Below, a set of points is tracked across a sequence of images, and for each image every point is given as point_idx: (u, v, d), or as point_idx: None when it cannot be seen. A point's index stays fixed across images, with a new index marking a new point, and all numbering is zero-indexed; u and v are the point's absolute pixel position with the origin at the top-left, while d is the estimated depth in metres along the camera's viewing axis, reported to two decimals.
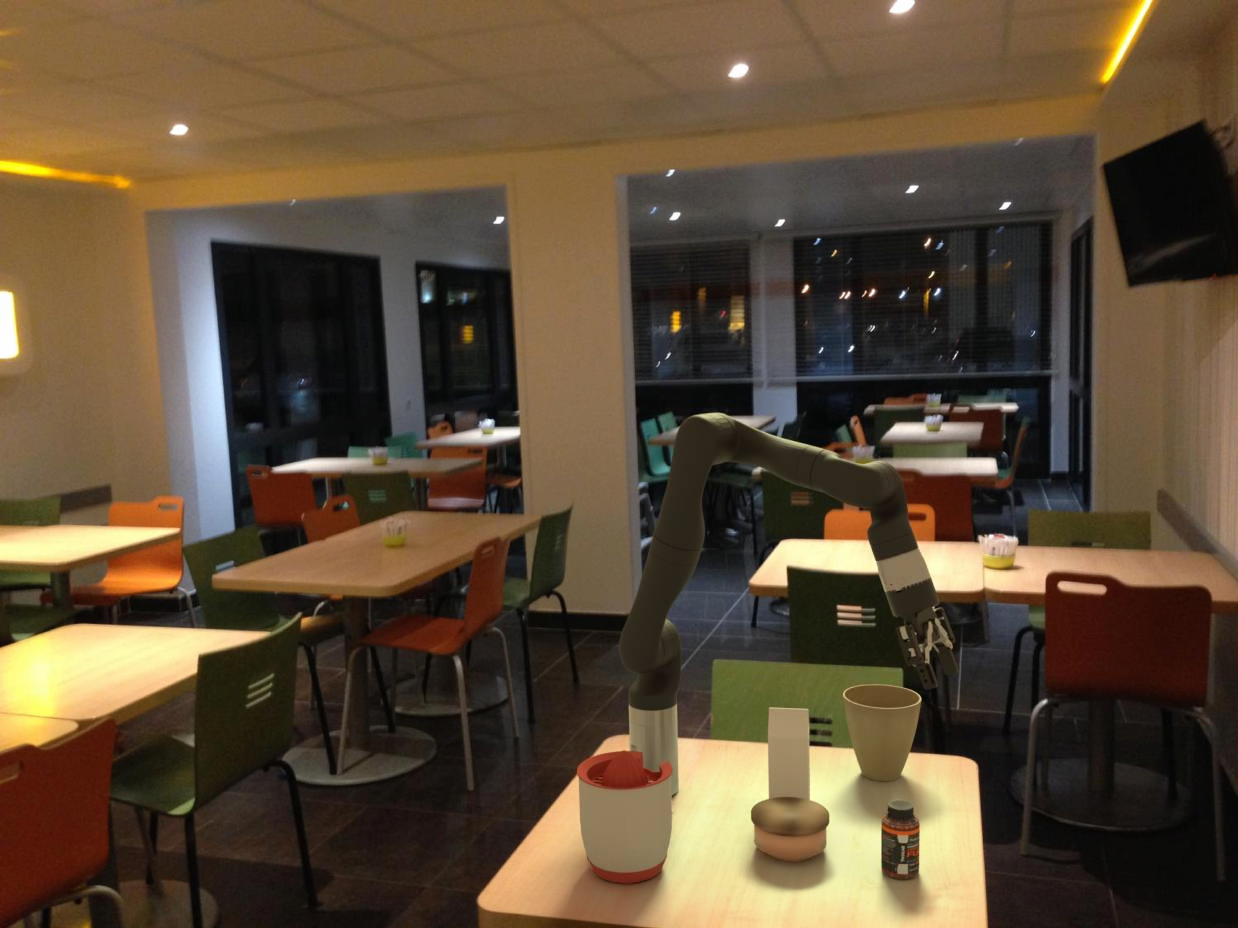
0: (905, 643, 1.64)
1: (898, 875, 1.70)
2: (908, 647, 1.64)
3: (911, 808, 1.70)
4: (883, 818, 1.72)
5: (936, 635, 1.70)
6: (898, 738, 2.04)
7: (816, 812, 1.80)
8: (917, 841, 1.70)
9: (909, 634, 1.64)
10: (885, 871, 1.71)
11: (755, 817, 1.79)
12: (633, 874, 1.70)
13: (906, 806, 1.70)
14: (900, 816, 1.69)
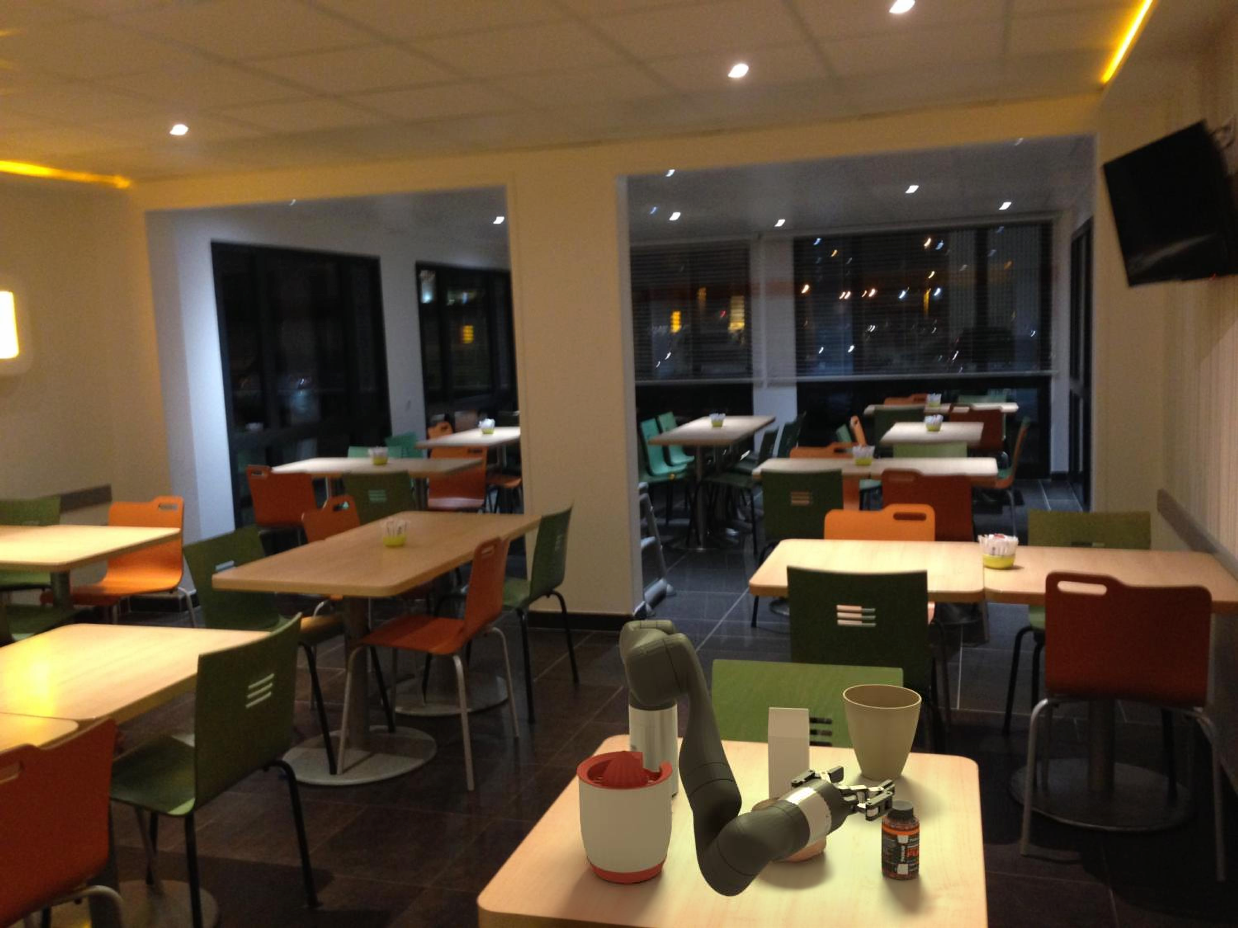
0: None
1: (898, 875, 1.70)
2: None
3: (911, 808, 1.70)
4: (883, 818, 1.72)
5: None
6: (898, 738, 2.04)
7: None
8: (917, 841, 1.70)
9: None
10: (885, 871, 1.71)
11: None
12: (633, 874, 1.70)
13: (906, 806, 1.70)
14: (900, 816, 1.69)
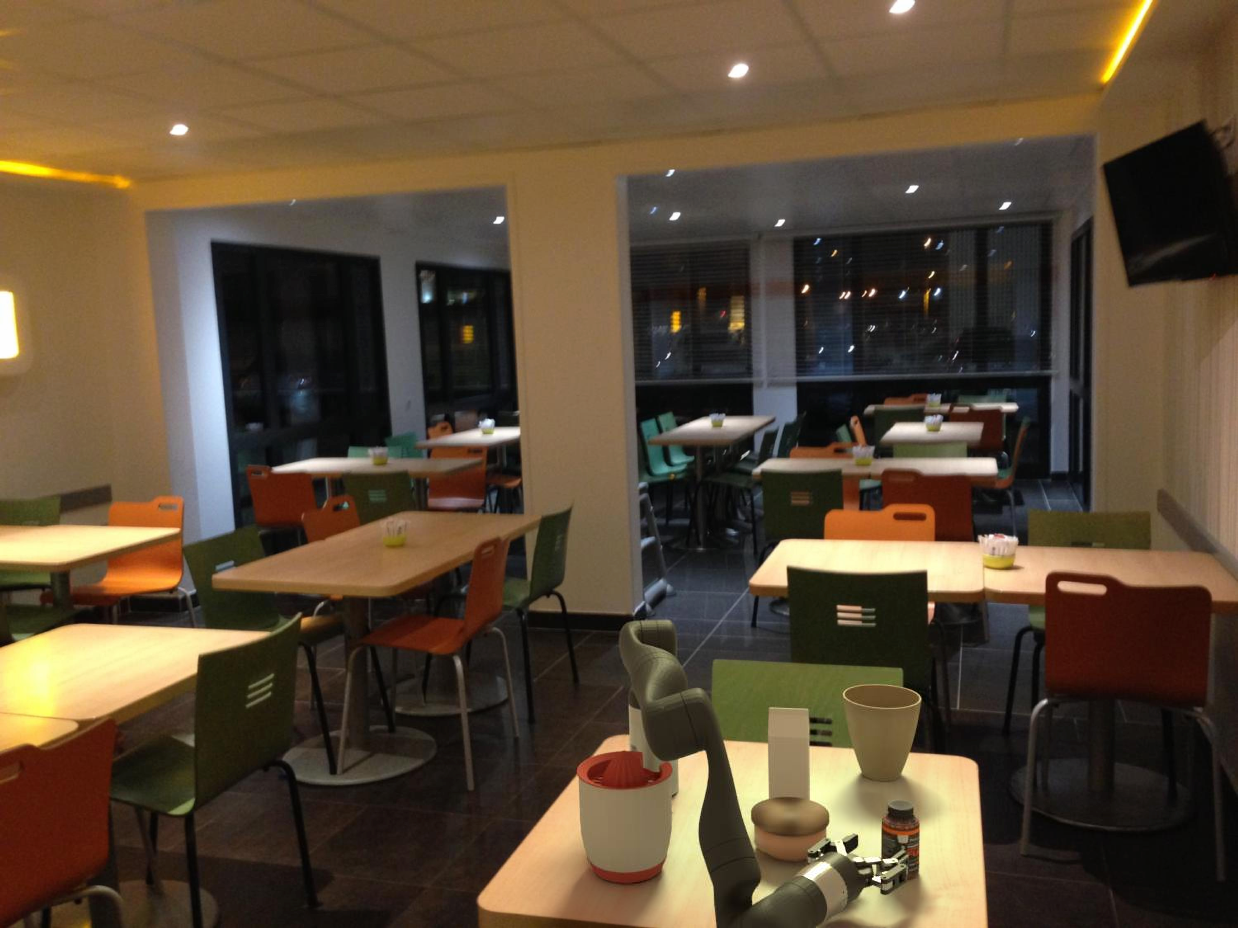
0: None
1: None
2: None
3: (911, 808, 1.70)
4: (883, 818, 1.72)
5: None
6: (898, 738, 2.04)
7: (816, 812, 1.80)
8: (917, 841, 1.70)
9: None
10: (885, 871, 1.71)
11: (755, 817, 1.79)
12: (633, 874, 1.70)
13: (906, 806, 1.70)
14: (900, 816, 1.69)
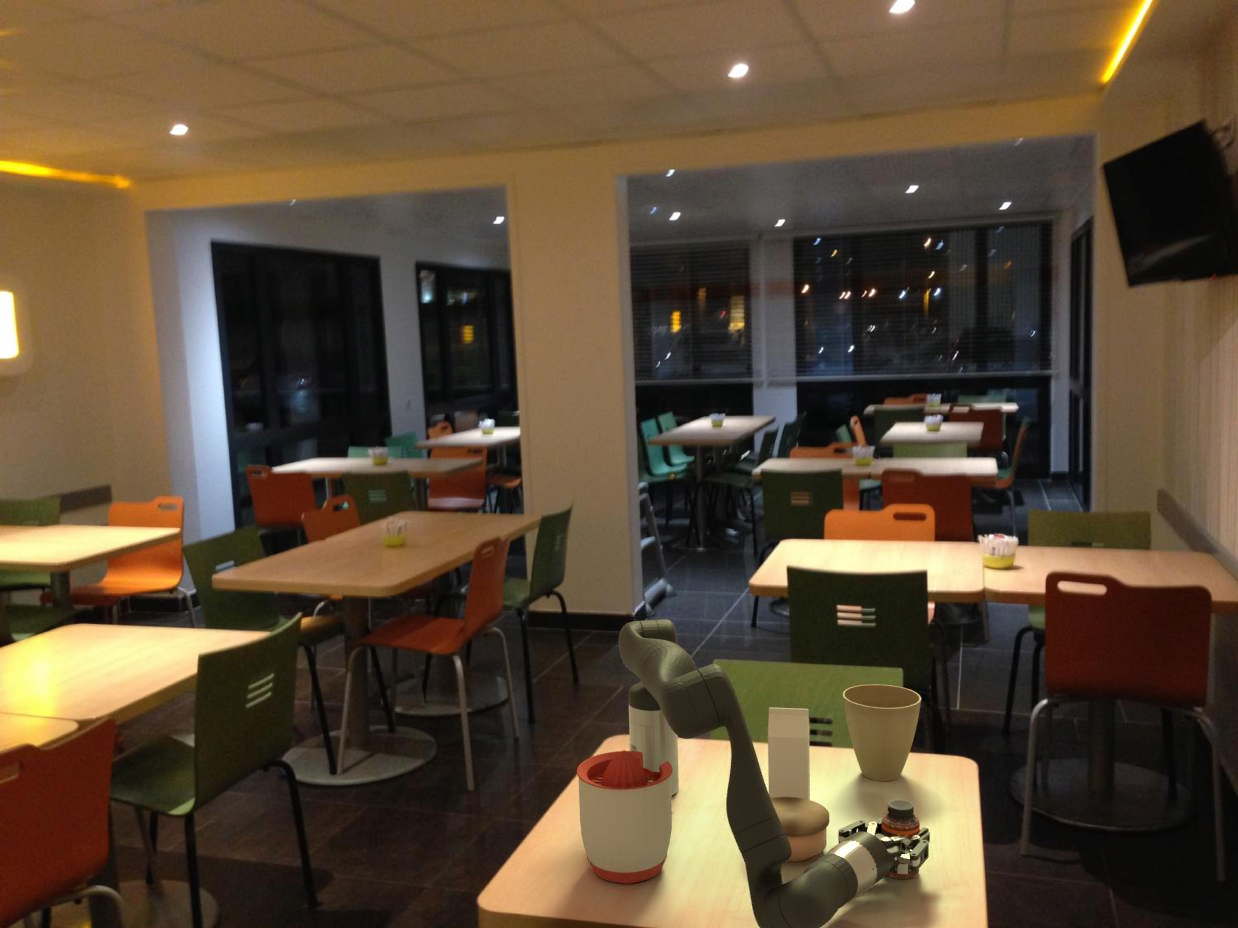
0: None
1: (898, 875, 1.70)
2: None
3: (911, 808, 1.70)
4: (883, 818, 1.72)
5: None
6: (898, 738, 2.04)
7: (816, 812, 1.80)
8: None
9: None
10: None
11: None
12: (633, 874, 1.70)
13: (906, 806, 1.70)
14: (900, 816, 1.69)
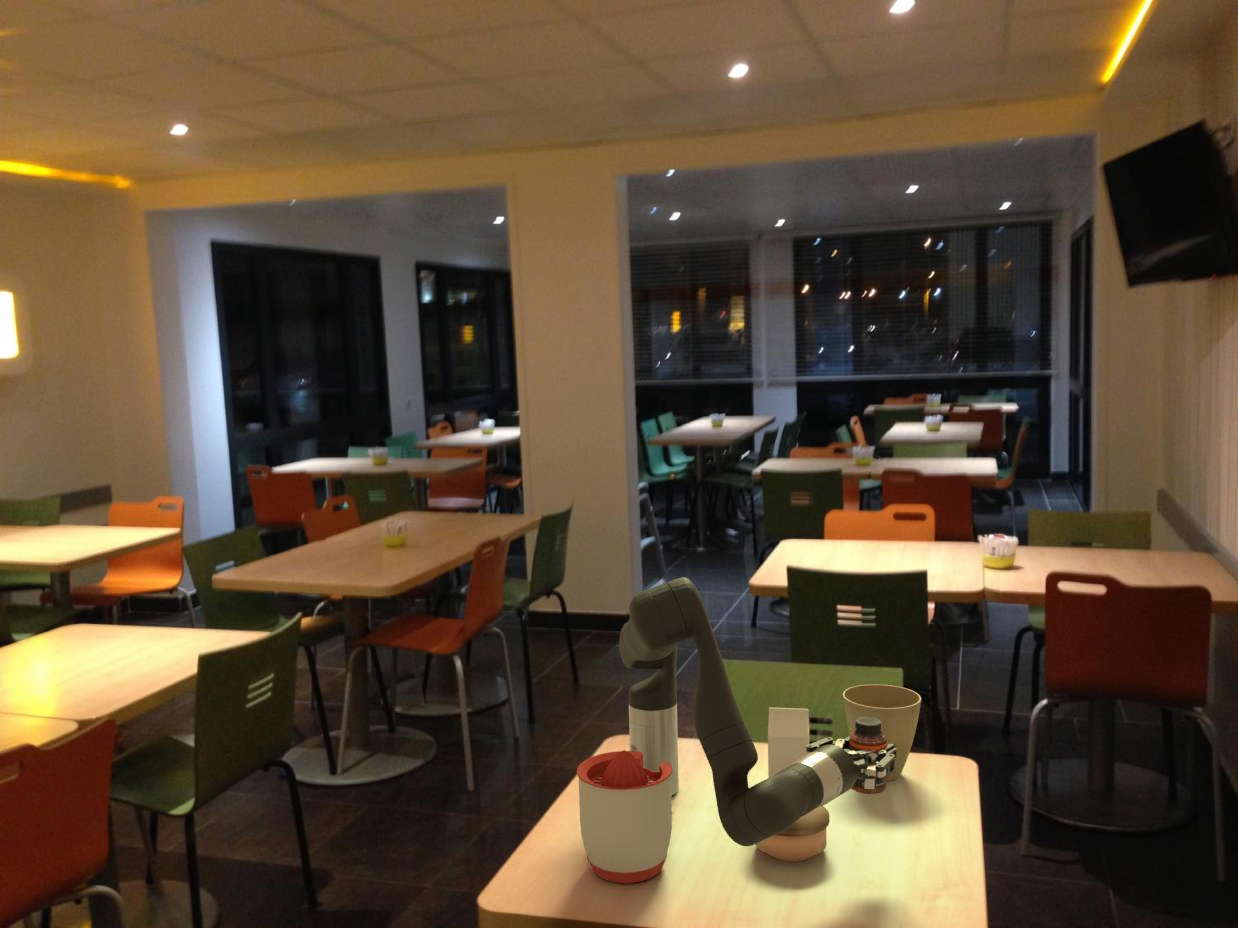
0: None
1: (865, 790, 1.71)
2: None
3: (878, 724, 1.72)
4: (851, 734, 1.73)
5: None
6: (898, 738, 2.04)
7: (816, 812, 1.80)
8: None
9: None
10: (852, 787, 1.73)
11: None
12: (633, 874, 1.70)
13: (873, 722, 1.72)
14: (867, 731, 1.71)
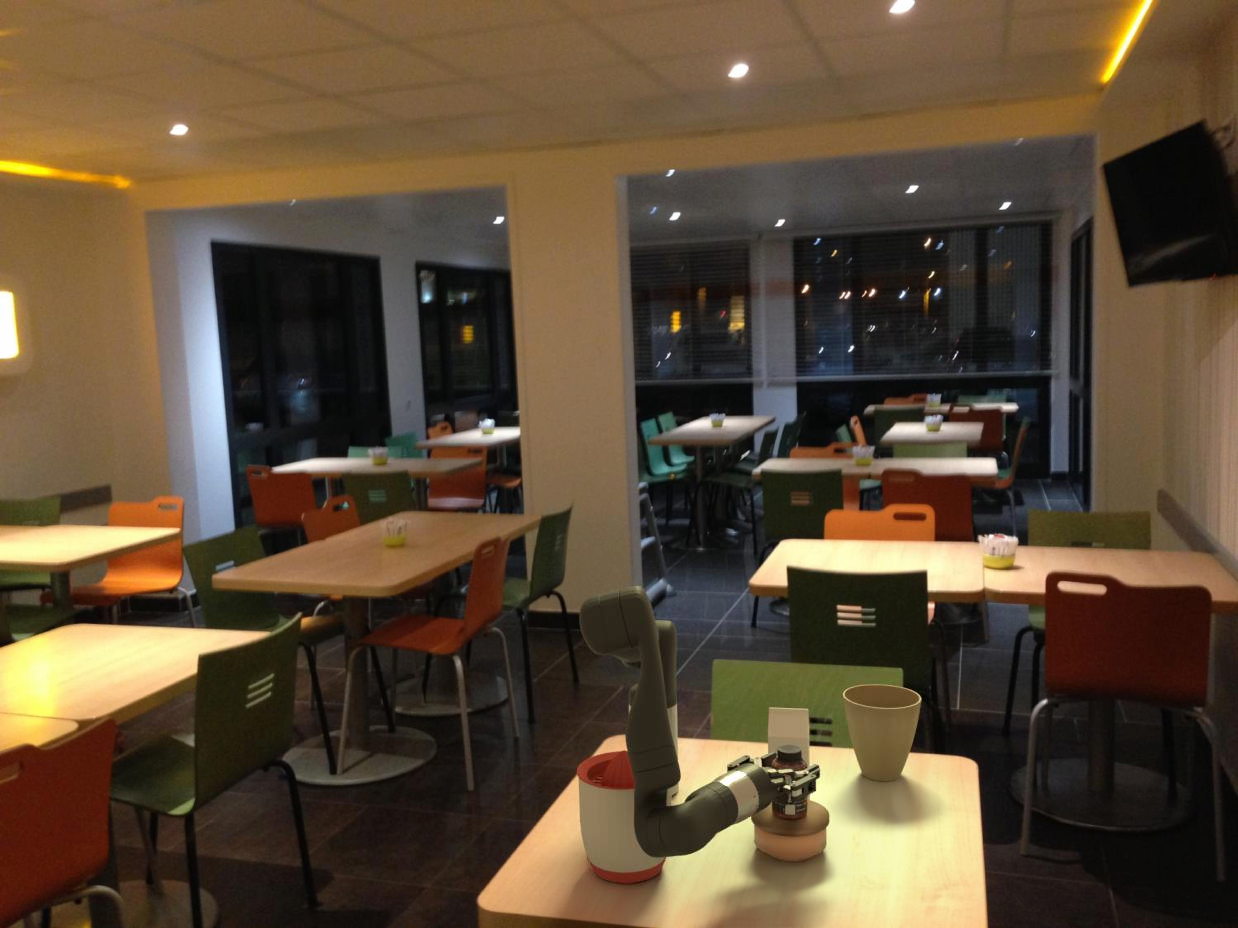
0: None
1: (786, 815, 1.77)
2: None
3: (799, 751, 1.78)
4: (773, 761, 1.79)
5: None
6: (898, 738, 2.04)
7: (816, 812, 1.80)
8: None
9: None
10: (774, 812, 1.79)
11: (755, 817, 1.79)
12: (633, 874, 1.70)
13: (794, 750, 1.78)
14: (787, 759, 1.77)
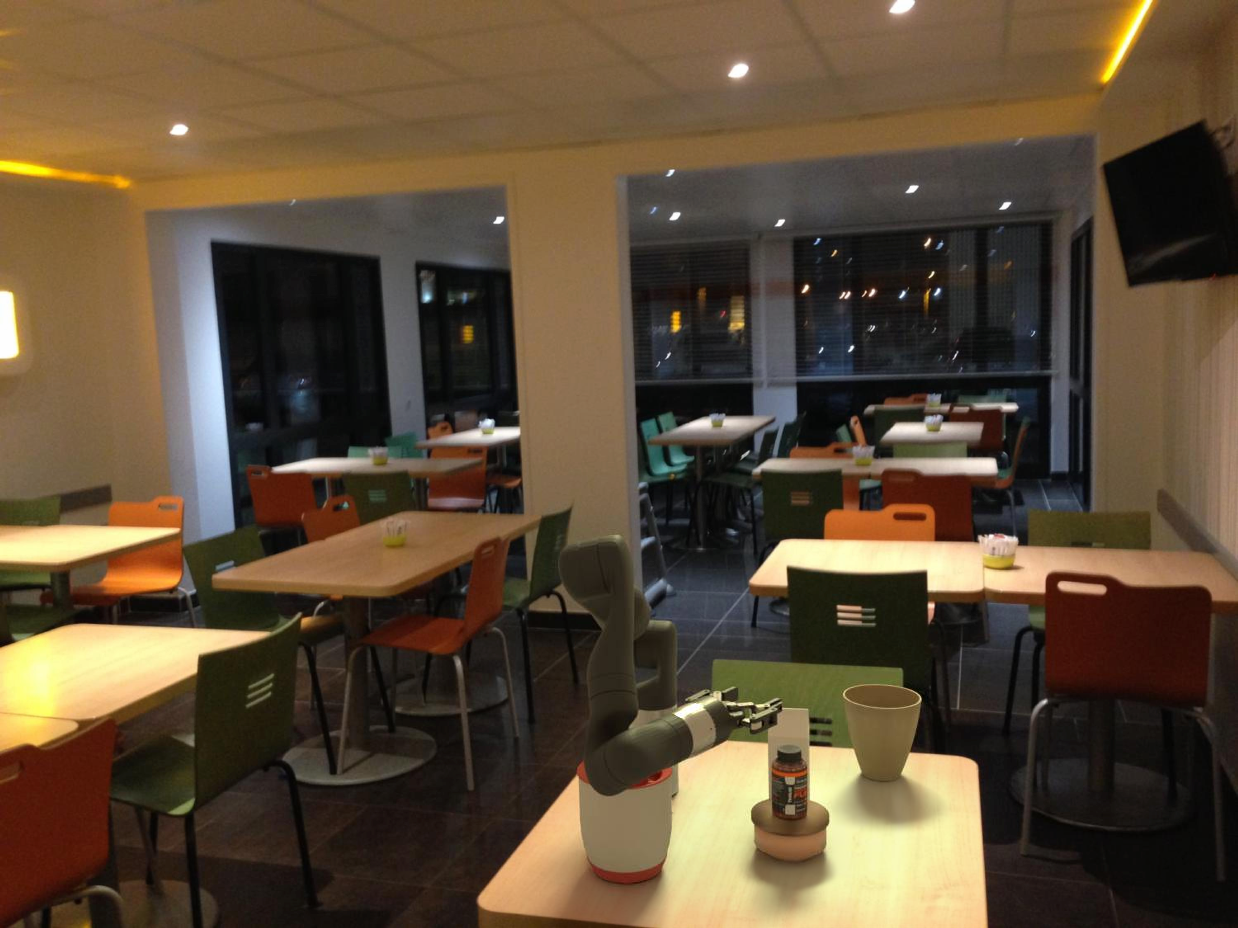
0: None
1: (786, 815, 1.77)
2: None
3: (798, 751, 1.78)
4: (773, 762, 1.79)
5: None
6: (898, 738, 2.04)
7: (816, 812, 1.80)
8: (804, 783, 1.77)
9: None
10: (774, 812, 1.79)
11: (755, 817, 1.79)
12: (633, 874, 1.70)
13: (793, 750, 1.78)
14: (787, 759, 1.77)
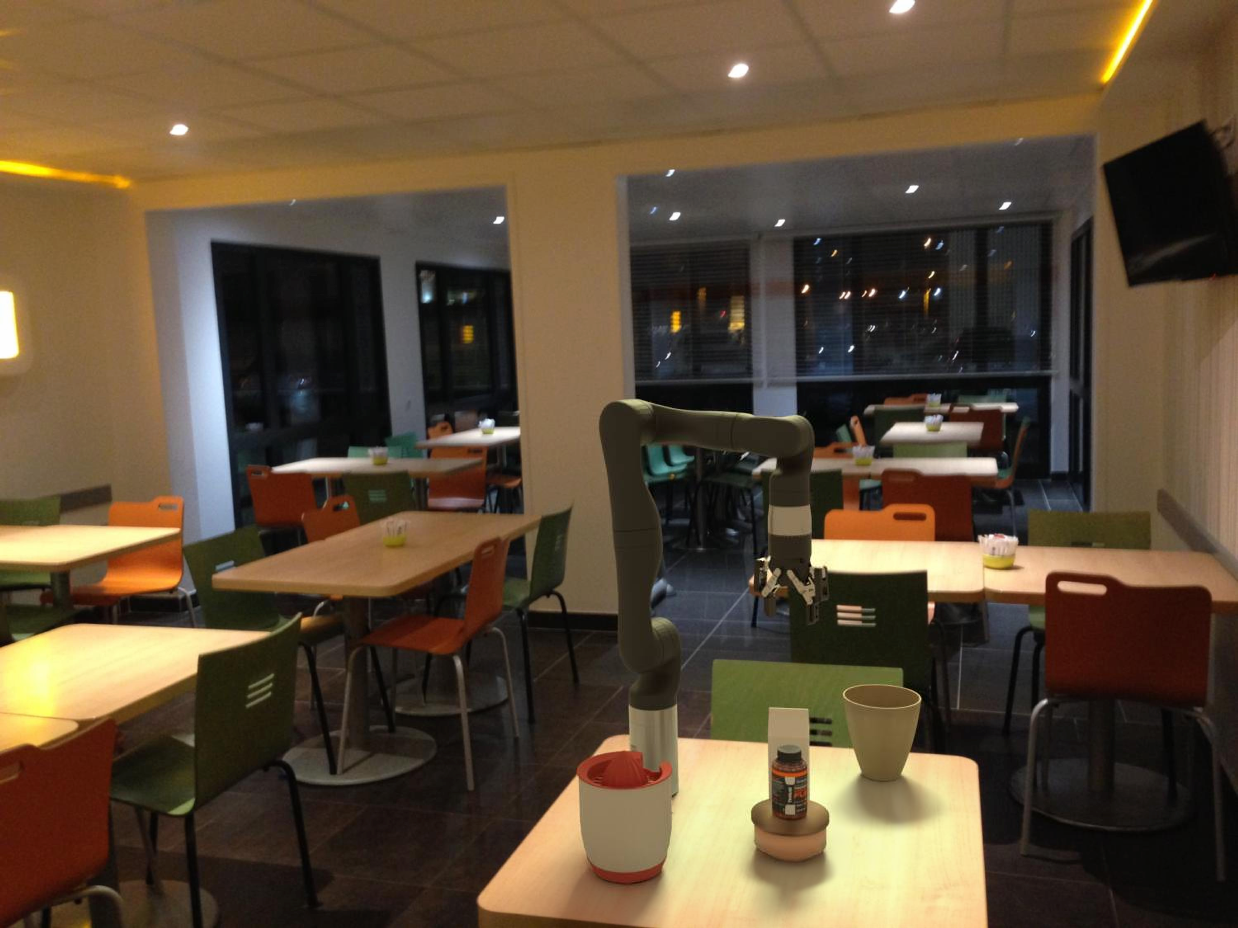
0: None
1: (786, 815, 1.77)
2: None
3: (798, 751, 1.78)
4: (773, 762, 1.79)
5: (792, 584, 1.88)
6: (898, 738, 2.04)
7: (816, 812, 1.80)
8: (804, 783, 1.77)
9: None
10: (774, 812, 1.79)
11: (755, 817, 1.79)
12: (633, 874, 1.70)
13: (793, 750, 1.78)
14: (787, 759, 1.77)
